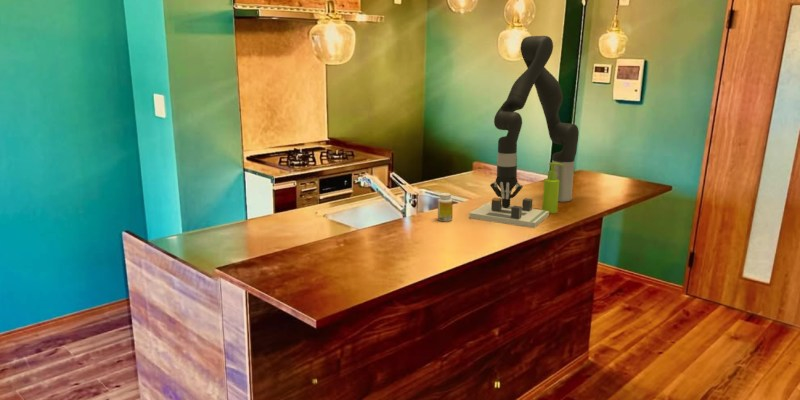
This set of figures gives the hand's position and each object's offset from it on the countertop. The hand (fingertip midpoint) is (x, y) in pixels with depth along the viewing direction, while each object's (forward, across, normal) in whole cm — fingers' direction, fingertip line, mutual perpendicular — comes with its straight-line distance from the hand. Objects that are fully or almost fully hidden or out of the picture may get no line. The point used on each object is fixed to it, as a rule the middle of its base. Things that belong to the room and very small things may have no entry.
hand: (505, 207), depth 219 cm
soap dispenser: (+4, -13, -16) cm, 21 cm away
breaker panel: (+4, -1, 0) cm, 4 cm away
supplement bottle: (+3, +19, +16) cm, 25 cm away
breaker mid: (+1, +4, 0) cm, 4 cm away
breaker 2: (+1, -6, -7) cm, 9 cm away
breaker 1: (+1, -6, +7) cm, 9 cm away
